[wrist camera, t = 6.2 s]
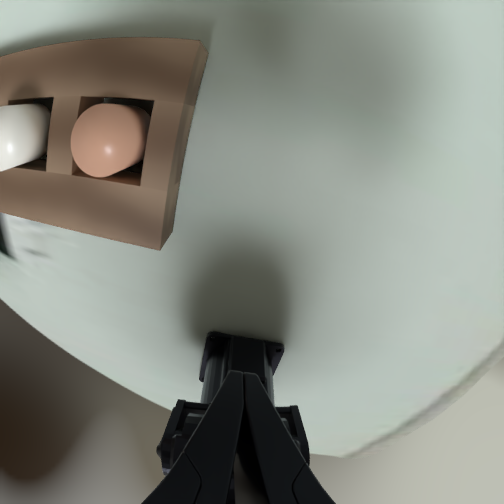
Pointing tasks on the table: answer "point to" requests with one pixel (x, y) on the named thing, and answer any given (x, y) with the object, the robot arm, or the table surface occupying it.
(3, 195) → the panel
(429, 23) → the table surface
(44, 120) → the button cream
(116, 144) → the button terracotta
